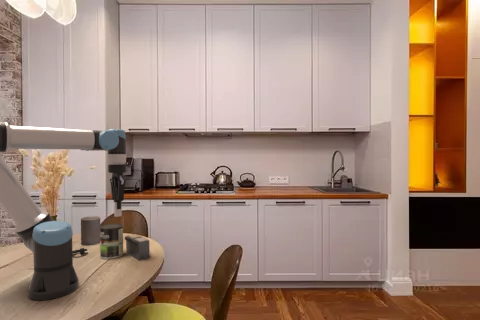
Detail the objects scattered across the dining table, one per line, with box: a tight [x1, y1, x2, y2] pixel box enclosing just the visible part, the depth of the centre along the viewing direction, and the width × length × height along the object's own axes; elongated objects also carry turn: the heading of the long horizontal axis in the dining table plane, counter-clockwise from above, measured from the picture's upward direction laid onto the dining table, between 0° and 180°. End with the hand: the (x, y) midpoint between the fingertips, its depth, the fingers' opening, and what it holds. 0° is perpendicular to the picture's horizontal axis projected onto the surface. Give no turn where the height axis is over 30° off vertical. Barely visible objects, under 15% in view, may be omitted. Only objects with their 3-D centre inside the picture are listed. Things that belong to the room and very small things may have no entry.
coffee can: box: [99, 223, 124, 260], centre depth 143 cm, size 10×10×14 cm
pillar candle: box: [80, 215, 101, 246], centre depth 164 cm, size 10×10×15 cm
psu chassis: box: [124, 233, 151, 261], centre depth 142 cm, size 6×15×8 cm, turn 42°
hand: (118, 216), depth 135 cm, fingers closed
